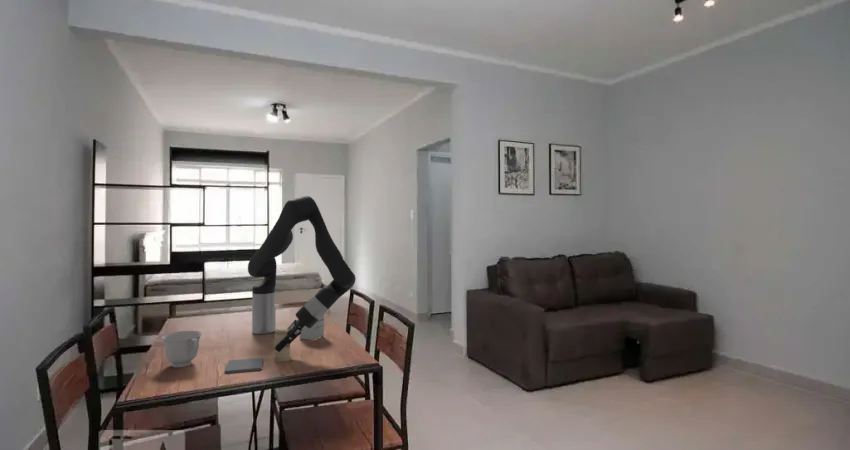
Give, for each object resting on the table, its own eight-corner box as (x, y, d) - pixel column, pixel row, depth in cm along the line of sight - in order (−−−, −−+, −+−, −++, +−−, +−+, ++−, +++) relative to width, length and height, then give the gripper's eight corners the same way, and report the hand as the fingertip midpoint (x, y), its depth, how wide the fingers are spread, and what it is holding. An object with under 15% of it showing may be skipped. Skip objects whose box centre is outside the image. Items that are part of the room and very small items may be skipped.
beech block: (275, 357, 157) (275, 329, 157) (289, 356, 158) (289, 328, 158) (274, 361, 152) (274, 333, 152) (289, 360, 154) (289, 332, 153)
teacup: (178, 375, 139) (178, 343, 139) (153, 366, 146) (153, 336, 146) (214, 364, 149) (214, 335, 149) (189, 357, 157) (189, 328, 157)
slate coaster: (228, 362, 151) (228, 360, 151) (263, 359, 154) (263, 357, 154) (224, 373, 140) (224, 370, 140) (261, 370, 144) (261, 367, 144)
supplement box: (298, 339, 181) (298, 308, 181) (309, 335, 188) (310, 305, 188) (313, 341, 178) (313, 310, 178) (324, 336, 185) (324, 306, 185)
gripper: (303, 301, 164) (269, 335, 161) (305, 308, 150) (268, 346, 147) (318, 314, 166) (284, 348, 162) (321, 323, 152) (284, 360, 149)
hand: (277, 347), depth 155 cm, fingers open, 5 cm apart
